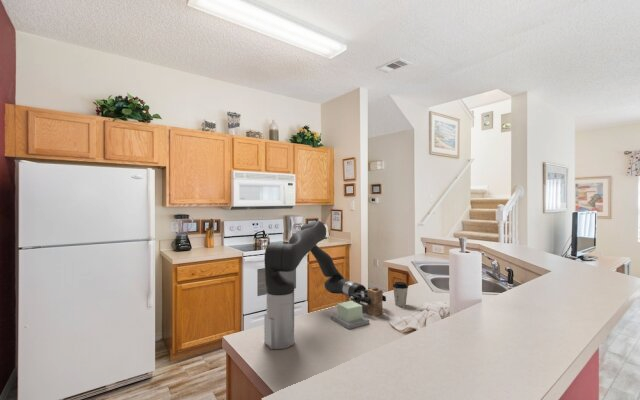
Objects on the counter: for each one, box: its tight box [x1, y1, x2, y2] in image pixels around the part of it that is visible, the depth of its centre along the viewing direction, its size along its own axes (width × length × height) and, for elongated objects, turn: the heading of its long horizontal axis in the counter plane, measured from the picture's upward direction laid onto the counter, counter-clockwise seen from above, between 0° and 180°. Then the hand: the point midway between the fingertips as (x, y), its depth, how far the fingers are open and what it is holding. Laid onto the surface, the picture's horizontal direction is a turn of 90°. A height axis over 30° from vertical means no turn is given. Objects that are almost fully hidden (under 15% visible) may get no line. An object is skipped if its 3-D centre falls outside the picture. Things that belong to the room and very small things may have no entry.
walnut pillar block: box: [367, 286, 383, 317], centre depth 129 cm, size 4×4×11 cm
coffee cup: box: [392, 281, 409, 308], centre depth 139 cm, size 7×7×10 cm
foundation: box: [330, 300, 370, 330], centre depth 121 cm, size 10×12×6 cm
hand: (378, 300), depth 127 cm, fingers open, 7 cm apart
